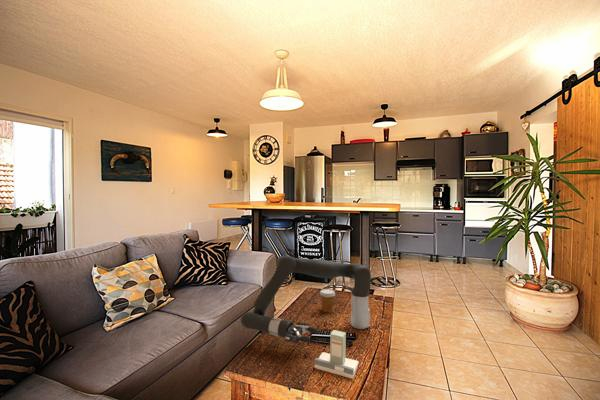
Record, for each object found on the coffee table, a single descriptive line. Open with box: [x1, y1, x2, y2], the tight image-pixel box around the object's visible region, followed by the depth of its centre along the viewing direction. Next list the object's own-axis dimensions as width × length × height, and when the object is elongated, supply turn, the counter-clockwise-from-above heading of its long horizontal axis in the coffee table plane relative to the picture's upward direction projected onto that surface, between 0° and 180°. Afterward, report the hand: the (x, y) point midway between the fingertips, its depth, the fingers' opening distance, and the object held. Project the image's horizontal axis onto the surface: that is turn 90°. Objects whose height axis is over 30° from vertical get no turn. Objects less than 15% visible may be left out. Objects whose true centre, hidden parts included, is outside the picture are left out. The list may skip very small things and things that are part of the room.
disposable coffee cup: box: [319, 288, 336, 313], centre depth 172 cm, size 10×10×12 cm
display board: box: [314, 351, 359, 380], centre depth 116 cm, size 10×16×4 cm, turn 66°
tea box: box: [329, 329, 347, 365], centre depth 116 cm, size 4×6×12 cm
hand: (313, 335), depth 121 cm, fingers open, 8 cm apart
